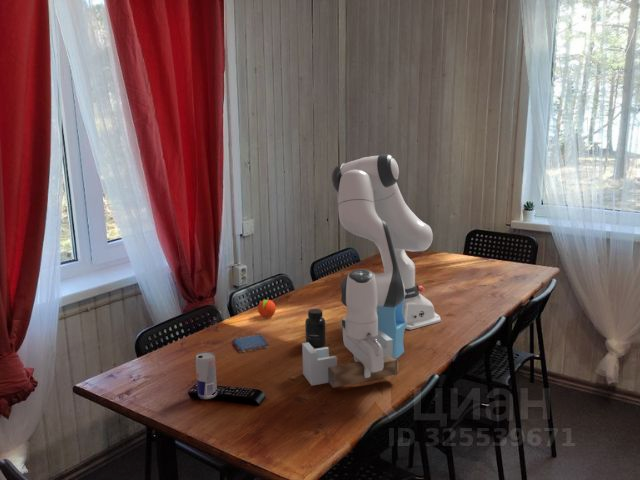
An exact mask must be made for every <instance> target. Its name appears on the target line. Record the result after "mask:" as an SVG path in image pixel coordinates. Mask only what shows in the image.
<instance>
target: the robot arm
mask: <svg viewBox="0 0 640 480" xmlns="http://www.w3.org/2000/svg"><path fill="white" fill-rule="evenodd" d="M399 176H400V169H399V165H398V163H397V160H396V158H395V157H394V156H392V155H391V154H385V153H382V154H379V155H371V156H364V157H361V158H359V159H354V160H352V161H348V162H342V163H340V164H339V165H337V166H335V167H334V169H333V171H332V173H331V181H332V185H333V188H334V190H335V191H336V192H337V193H338V195H337V204H338V205H337V207H338V209H337V210H338V219H339V222H340V224H341V226H342V227H343V229H345V230H346V231H347V232H349V233H351V234H352V235H354V236H358V237H361V238H364V239H367V240H369V241H371V242H373V243H374V244H375V246H376V247H377V248H378V252H379V253H380V257H381V262H382V265H383V269H384V270H383V271H384V272H380V273H374V272H373V271H372V270H369V269H365V268H359V269H358V268H357V269H353V270H351V271H350V272H349V273H348V274H347V275H345V277H343V279H342V280H341V281H340V282H339V283H340V284H339V285H340V292H341V294H340V295H341V296H340V297H341V298H340V302H341V303H342V304H343V306H344V307H346V308H347V310H346V311H347V313H346V317H343V318H340V325H341V327H342V328H341V329H342V341H343V345H344V346H345V348H346V349H347V350H348V351H349V352H350V353H352V355H353V359H354V362H359V361H361V362H362V363H363V364H364V367H365V368H364V370H363V376H364V377H365V378H369V377H370V376H371V372H378V371H382V370H383V368H384V363H383V351H382V347H381V345H380V343H379V342H378V341H377V339H376V338H375V336H377V335H378V315H377V306H383V307H396V306H397V305H399V304H400V303H401V302H402V301H403V300H404V302H403V315H404V318H405V321H406V327H405V330H409V331H411V330H414V329H419V328H422V327H426V326H430V325H433V324H438V323H440V322H441V316H440V315H439V314H438V313H436V312H435V307H434V305H433V303H432V301H430V300H429V299H427V298H426V297H425V296H423V295H422V294H421V293H424V291H425V287H423V286H422V285H419V284H417V283H416V281H415V280H416V266H415V263H414V261H413V260H412V259H410V257H409V256H408V254H407V253H406V251H408V252H425V251H427V249H429V248H430V246H431V245H432V242H433V239H434V234H433V230H432V228H431V226H430V225H429V224H427V223H425V222H424V221H422V220H421V219H420V218H419V217H418V216H417V215H416V214H415V213H414V212H413V211H412V210H411V209H410V207H409V206H408V205H407V203H406V202H405V199H404V197H403V195H402V193H401V192H402V191H400V188H399V185H398V183H397V182H398V180H399V178H400V177H399ZM405 293H406V295H405ZM404 296H405V298H404Z"/></svg>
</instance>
